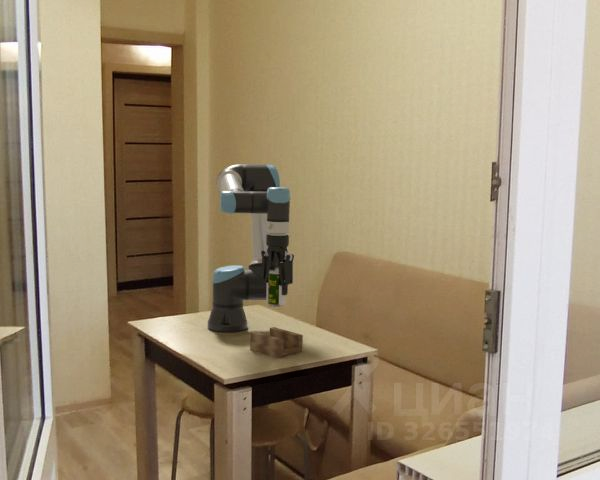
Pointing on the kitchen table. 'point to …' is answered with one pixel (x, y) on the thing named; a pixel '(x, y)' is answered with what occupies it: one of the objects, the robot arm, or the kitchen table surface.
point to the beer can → (274, 288)
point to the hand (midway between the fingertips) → (276, 302)
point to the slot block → (276, 343)
